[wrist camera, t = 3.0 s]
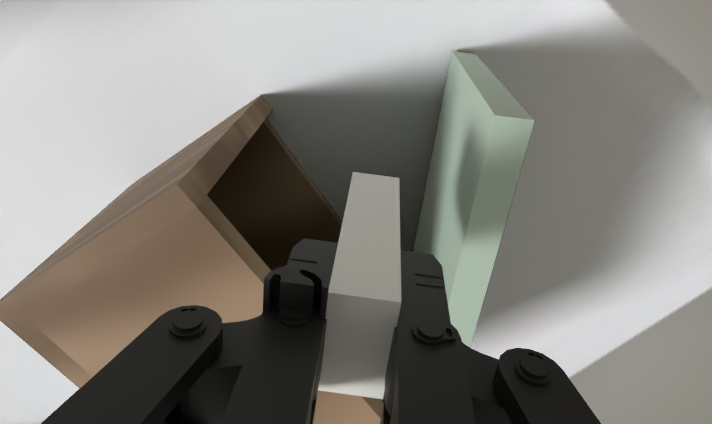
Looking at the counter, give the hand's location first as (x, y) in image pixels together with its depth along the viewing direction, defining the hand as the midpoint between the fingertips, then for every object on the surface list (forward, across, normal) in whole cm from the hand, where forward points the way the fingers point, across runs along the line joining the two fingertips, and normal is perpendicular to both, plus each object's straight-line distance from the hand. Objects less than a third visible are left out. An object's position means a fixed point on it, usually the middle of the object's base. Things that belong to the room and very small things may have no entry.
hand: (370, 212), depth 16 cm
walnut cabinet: (+12, -6, -9) cm, 16 cm away
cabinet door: (+12, +4, -4) cm, 13 cm away
